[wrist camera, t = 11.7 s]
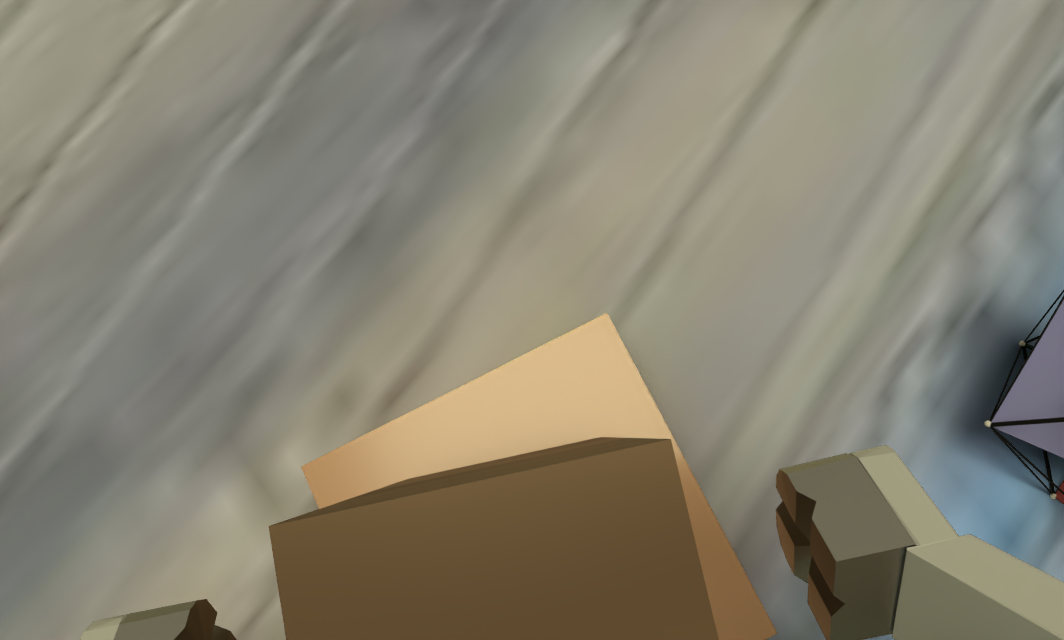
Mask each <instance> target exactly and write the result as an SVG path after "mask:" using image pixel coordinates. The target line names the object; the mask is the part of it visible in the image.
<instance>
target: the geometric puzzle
mask: <svg viewBox="0 0 1064 640" xmlns="http://www.w3.org/2000/svg"><path fill="white" fill-rule="evenodd" d="M1063 292H1064V290H1063V291H1062V293H1061V294H1060V295H1059V297H1058V298H1057V299H1056V300H1055V302H1054V303H1053V304H1052V306H1051V307H1050V308H1049V310H1048V311H1047V312H1046V313H1045V315H1044V316H1043V317H1042V319H1041V320H1040V321H1039V323H1040V322H1041V321H1042V320H1043V318H1044V317H1045V316H1046V314H1047V313H1048V312H1049V311H1050V309H1051V308H1052V307H1053V305H1054V304H1055V303H1056V301H1057V300H1058V299H1059V298H1060V296H1061V295H1062V294H1063ZM1039 323H1038V324H1037V325H1036V326H1035V328H1034V329H1033V330H1032V332H1031V333H1030V334H1029V336H1030V335H1031V334H1032V333H1033V331H1034V330H1035V329H1036V327H1037V326H1038V325H1039ZM1029 336H1028V337H1027V338H1026V340H1027V339H1028V338H1029ZM1036 339H1038V340H1037V342H1036V343H1035V345H1034V347H1033V346H1031V345H1029V344H1027V343H1029V342H1031V341H1034V340H1036ZM1026 340H1025V341H1020V342H1019V346H1021V348H1020V350H1019V353H1018V355H1017V357H1016V360H1015V362H1014V364H1013V367H1012V369H1011V371H1010V374H1009V376H1008V378H1007V381H1006V383H1005V385H1004V388H1003V390H1002V392H1001V395H1000V397H999V399H998V402H997V404H996V406H995V409H994V411H993V413H992V416H991V418H990V420H987V421H985V423H984V424H985V426H987V427H990V428H991V429H992V430H993V431H994V432H995V434H996V435H997V436H998V437H999V438H1000V439H1001V440H1002V441H1003V442H1004V443H1005V444H1006V446H1007V447H1008V448H1009V449H1010V450H1011V451H1012V452H1013V453H1014V454H1015V455H1016V456H1017V457H1018V459H1019V460H1020V461H1021V462H1022V463H1023V464H1024V465H1025V466H1026V467H1027V468H1028V469H1029V470H1030V472H1031V473H1032V474H1033V475H1034V476H1035V477H1036V478H1037V479H1038V480H1039V481H1040V482H1041V483H1042V485H1043V486H1044V487H1045V488H1046V489H1047V490H1048V491H1049V492H1050V493H1051V495H1050V497H1051V499H1057V500H1058V501H1060V502H1061V503H1062V504H1063V505H1064V481H1063V482H1062V484H1061V486H1060V487H1058V486H1057V485H1055V484H1054V483H1053V480H1052V475H1051V470H1050V465H1049V460H1048V455H1047V451H1049V452H1051V453H1053V454H1055V455H1058V456H1060V457H1062V458H1064V296H1063V298H1062V299H1061V301H1060V303H1059V305H1058V306H1057V308H1056V310H1055V311H1054V313H1053V315H1052V316H1051V318H1050V320H1049V321H1048V323H1047V325H1046V326H1045V328H1044V330H1043V332H1042V333H1041V335H1040V336H1037V337H1035V338H1033V339H1030V340H1028V341H1026ZM1025 347H1026V348H1028V349H1031V352H1030V354H1029V355H1028V357H1027V353H1026V348H1025ZM1022 349H1023V354H1024V359H1025V362H1024V364H1023V365H1022V367H1021V369H1020V370H1019V372H1018V374H1017V375H1016V377H1015V379H1014V381H1013V382H1012V384H1011V386H1010V387H1009V389H1008V391H1007V392H1006V394H1005V396H1004V397H1003V399H1002V401H1001V402H1000V399H1001V397H1002V394H1003V392H1004V390H1005V387H1006V385H1007V383H1008V380H1009V378H1010V376H1011V373H1012V371H1013V369H1014V366H1015V364H1016V362H1017V359H1018V357H1019V355H1020V352H1021V350H1022ZM999 402H1000V404H999ZM998 404H999V406H998ZM997 406H998V408H997ZM993 427H994V428H996V429H998V430H1000V431H1003V432H1005V433H1007V434H1010V435H1012V436H1014V437H1016V438H1019V439H1021V440H1023V441H1026V442H1028V443H1030V444H1032V445H1035V446H1037V447H1039V448H1042V449H1043V452H1044V457H1045V462H1046V467H1047V471H1048V476H1049V478H1048V477H1047V476H1046V475H1045V474H1043V473H1042V472H1041V471H1040V470H1039V469H1038V468H1037V467H1036V466H1035V465H1034V464H1033V463H1031V462H1030V461H1029V460H1028V459H1027V458H1026V457H1025V456H1024V455H1023V454H1022V453H1021V452H1019V451H1018V450H1017V449H1016V448H1015V447H1014V446H1013V445H1012V444H1011V443H1010V442H1009V441H1007V440H1006V439H1005V438H1004V437H1003V436H1002V435H1001V434H1000V433H999V432H998V431H997V430H995V429H994V428H993ZM1006 442H1007V443H1008V444H1009V445H1010V446H1011V447H1012V448H1013V449H1014V450H1015V451H1016V452H1017V453H1019V454H1020V455H1021V456H1022V457H1023V458H1024V459H1025V460H1026V461H1027V462H1028V463H1029V464H1031V465H1032V466H1033V467H1034V468H1035V469H1036V470H1037V471H1038V472H1039V473H1040V474H1041V475H1042V476H1044V477H1045V478H1046V479H1047V480H1048V481H1049V482H1050V486H1051V491H1052V492H1051V491H1050V490H1049V489H1048V488H1047V486H1046V485H1045V484H1044V483H1043V482H1042V481H1041V480H1040V479H1039V478H1038V477H1037V476H1036V474H1035V473H1034V472H1033V471H1032V470H1031V469H1030V468H1029V467H1028V466H1027V465H1026V464H1025V463H1024V461H1023V460H1022V459H1021V458H1020V457H1019V456H1018V455H1017V454H1016V453H1015V452H1014V451H1013V449H1012V448H1011V447H1010V446H1009V445H1008V444H1007V443H1006ZM1054 487H1056V488H1057V489H1058V490H1057V491H1056V492H1055V490H1054Z"/></svg>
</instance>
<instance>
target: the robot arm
mask: <svg viewBox="0 0 1064 640" xmlns="http://www.w3.org/2000/svg"><path fill="white" fill-rule="evenodd" d="M776 488H777V490H778V492H779V494H780V496H781V498H782V500H783V502H782V503H781V504H780V505H779V506H778V508H777V509H776V520H777V529H778V534H779V538H780V543H781V546H782V549H783V551H784V554H785V557H786V559H787V561H788V563H789V565H790V568H791V570H792V572H793V574H794V575H795V576H797V577H798V578H800V579H801V580H803V581H805V582H806V583H808V604H809V606H810V608H811V610H812V612H813V614H814V616H815V618H816V620H817V622H818V624H819V626H820V628H821V630H822V632H823V634H824V636H825V638H826V640H863V639H868V638H873V637H878V636H883V635H888V634H893V635H892V637H893V638H894V639H895V640H1064V582H1062V581H1060V580H1058V579H1056V578H1054V577H1052V576H1050V575H1048V574H1047V573H1045V572H1043V571H1041V570H1039V569H1037V568H1035V567H1033V566H1031V565H1029V564H1027V563H1025V562H1023V561H1021V560H1019V559H1017V558H1015V557H1014V556H1012V555H1010V554H1008V553H1006V552H1004V551H1002V550H1000V549H998V548H996V547H994V546H992V545H990V544H988V543H986V542H984V541H983V540H981V539H979V538H977V537H975V536H973V535H971V534H969V535H963V536H959V535H958V534H957V533H956V531H955V530H954V529H953V527H952V526H951V525H950V524H949V522H948V521H947V520H946V518H945V517H944V516H943V514H942V513H941V512H940V510H939V509H938V508H937V506H936V505H935V504H934V502H933V501H932V500H931V498H930V497H929V496H928V495H927V493H926V492H925V491H924V489H923V488H922V487H921V485H920V484H919V483H918V481H917V480H916V479H915V477H914V476H913V475H912V473H911V472H910V471H909V469H908V468H907V467H906V465H905V464H904V463H903V462H902V460H901V459H900V458H899V456H898V455H897V454H896V452H895V451H894V450H893V449H892V448H890V447H888V446H887V445H884V446H880V447H875V448H871V449H866V450H862V451H857V452H853V453H850V454H847V453H845V454H841V455H837V456H833V457H828V458H824V459H820V460H816V461H812V462H807V463H803V464H799V465H795V466H790V467H786V468H782V469H779V471H778V473H777V480H776ZM216 616H217V612H216V611H215V609H214V608H213V607H212V606H211V604H210V603H209V602H208V601H207V599H204V600H197V601H192V602H187V603H182V604H177V605H172V606H166V607H161V608H156V609H151V610H146V611H141V612H136V613H131V614H127V615H122V616H117V617H112V618H108V619H103V620H98V621H93V623H92V624H91V625H90V626H89V627H88V628H87V629H86V630H85V631H84V632H83V634H82V636H81V639H80V640H236V638H235V637H234V636H233V634H232V633H231V631H229V630H226V629H224V628H221V627H219V626H216V625H214V624H215V620H216Z"/></svg>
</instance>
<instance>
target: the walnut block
mask: <svg viewBox="0 0 1064 640" xmlns="http://www.w3.org/2000/svg"><path fill="white" fill-rule="evenodd" d="M269 531H270V537H271V544H272V550H273V557H274V563H275V570H276V576H277V582H278V589H279V595H280V602H281V608H282V615H283V621H284V627H285V634H286V640H719V639H718V634H717V630H716V626H715V622H714V618H713V613H712V609H711V605H710V601H709V597H708V592H707V588H706V584H705V580H704V576H703V572H702V567H701V563H700V559H699V555H698V551H697V546H696V542H695V538H694V534H693V530H692V526H691V521H690V517H689V513H688V509H687V505H686V500H685V496H684V492H683V488H682V484H681V479H680V475H679V471H678V467H677V463H676V459H675V454H674V450H673V446H672V442H671V439H657V438H618V437H599V438H594V439H590V440H585V441H580V442H576V443H571V444H567V445H562V446H557V447H553V448H548V449H543V450H539V451H534V452H530V453H525V454H520V455H516V456H511V457H507V458H502V459H497V460H493V461H488V462H484V463H479V464H474V465H470V466H465V467H460V468H456V469H451V470H447V471H442V472H437V473H433V474H428V475H424V476H419V477H414V478H410V479H406V480H403V481H400V482H397V483H394V484H391V485H388V486H386V487H383V488H380V489H377V490H374V491H371V492H368V493H365V494H362V495H359V496H356V497H353V498H350V499H347V500H344V501H342V502H339V503H336V504H333V505H330V506H327V507H324V508H321V509H318V510H315V511H312V512H309V513H306V514H303V515H300V516H298V517H295V518H292V519H289V520H286V521H283V522H280V523H277V524H274V525H271V526H269Z"/></svg>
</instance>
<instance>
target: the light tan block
mask: <svg viewBox="0 0 1064 640" xmlns="http://www.w3.org/2000/svg"><path fill="white" fill-rule="evenodd" d="M599 437H618V438H657V439H671V442H672V446H673V450H674V454H675V459H676V463H677V467H678V471H679V475H680V479H681V484H682V488H683V492H684V496H685V500H686V505H687V509H688V513H689V517H690V521H691V526H692V530H693V534H694V538H695V542H696V546H697V551H698V555H699V559H700V563H701V567H702V572H703V576H704V580H705V584H706V588H707V592H708V597H709V601H710V605H711V609H712V613H713V618H714V622H715V626H716V630H717V634H718V639H719V640H766V639H768V638H770V637H771V636H773V635H775V634H777V632H776V630H775V628H774V626H773V624H772V622H771V620H770V618H769V617H768V615H767V613H766V611H765V609H764V607H763V605H762V603H761V601H760V600H759V598H758V596H757V594H756V592H755V590H754V588H753V586H752V585H751V583H750V581H749V579H748V577H747V575H746V573H745V571H744V569H743V568H742V566H741V564H740V562H739V560H738V558H737V556H736V554H735V553H734V551H733V549H732V547H731V545H730V543H729V541H728V539H727V538H726V536H725V534H724V532H723V530H722V528H721V526H720V524H719V522H718V521H717V519H716V517H715V515H714V513H713V511H712V509H711V507H710V506H709V504H708V502H707V500H706V498H705V496H704V494H703V492H702V490H701V489H700V487H699V485H698V483H697V481H696V479H695V477H694V475H693V474H692V472H691V470H690V468H689V466H688V464H687V462H686V460H685V459H684V457H683V455H682V453H681V451H680V449H679V447H678V445H677V443H676V442H675V440H674V438H673V436H672V434H671V432H670V430H669V428H668V427H667V425H666V423H665V421H664V419H663V417H662V415H661V413H660V411H659V410H658V408H657V406H656V404H655V402H654V400H653V398H652V396H651V395H650V393H649V391H648V389H647V387H646V385H645V383H644V381H643V380H642V378H641V376H640V374H639V372H638V370H637V368H636V366H635V364H634V363H633V361H632V359H631V357H630V355H629V353H628V351H627V349H626V348H625V346H624V344H623V342H622V340H621V338H620V336H619V334H618V332H617V331H616V329H615V327H614V325H613V323H612V321H611V319H610V317H609V316H608V314H607V313H606V314H604V315H602V316H600V317H598V318H596V319H594V320H592V321H590V322H588V323H586V324H584V325H582V326H580V327H578V328H576V329H574V330H572V331H570V332H568V333H566V334H564V335H562V336H560V337H558V338H556V339H554V340H552V341H550V342H548V343H546V344H544V345H542V346H540V347H538V348H536V349H534V350H532V351H530V352H528V353H526V354H524V355H522V356H520V357H518V358H516V359H514V360H512V361H510V362H508V363H506V364H504V365H502V366H500V367H498V368H496V369H494V370H492V371H490V372H488V373H486V374H484V375H482V376H480V377H478V378H476V379H474V380H472V381H470V382H469V383H467V384H465V385H463V386H461V387H459V388H457V389H455V390H453V391H451V392H449V393H447V394H445V395H443V396H441V397H439V398H437V399H435V400H433V401H431V402H429V403H427V404H425V405H423V406H421V407H419V408H417V409H415V410H413V411H411V412H409V413H407V414H405V415H403V416H401V417H399V418H397V419H395V420H393V421H391V422H389V423H387V424H385V425H383V426H381V427H379V428H377V429H375V430H373V431H371V432H369V433H367V434H365V435H363V436H361V437H359V438H357V439H355V440H353V441H351V442H349V443H347V444H345V445H343V446H341V447H339V448H337V449H335V450H333V451H331V452H329V453H327V454H325V455H323V456H321V457H319V458H317V459H315V460H313V461H311V462H309V463H308V464H306V465H304V466H302V467H301V468H302V470H303V472H304V475H305V477H306V479H307V482H308V484H309V486H310V488H311V491H312V493H313V495H314V498H315V500H316V502H317V505H318V507H319V509H321V508H324V507H327V506H330V505H333V504H336V503H339V502H342V501H344V500H347V499H350V498H353V497H356V496H359V495H362V494H365V493H368V492H371V491H374V490H377V489H380V488H383V487H386V486H388V485H391V484H394V483H397V482H400V481H403V480H406V479H410V478H414V477H419V476H424V475H428V474H433V473H437V472H442V471H447V470H451V469H456V468H460V467H465V466H470V465H474V464H479V463H484V462H488V461H493V460H497V459H502V458H507V457H511V456H516V455H520V454H525V453H530V452H534V451H539V450H543V449H548V448H553V447H557V446H562V445H567V444H571V443H576V442H580V441H585V440H590V439H594V438H599Z"/></svg>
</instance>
